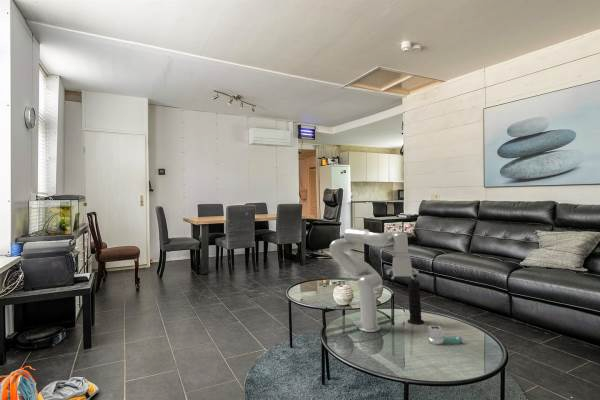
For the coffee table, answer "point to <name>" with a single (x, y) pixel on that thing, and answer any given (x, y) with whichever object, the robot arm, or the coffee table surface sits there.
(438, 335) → the hollow white cube
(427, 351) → the coffee table surface
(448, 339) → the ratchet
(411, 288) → the handle grip
